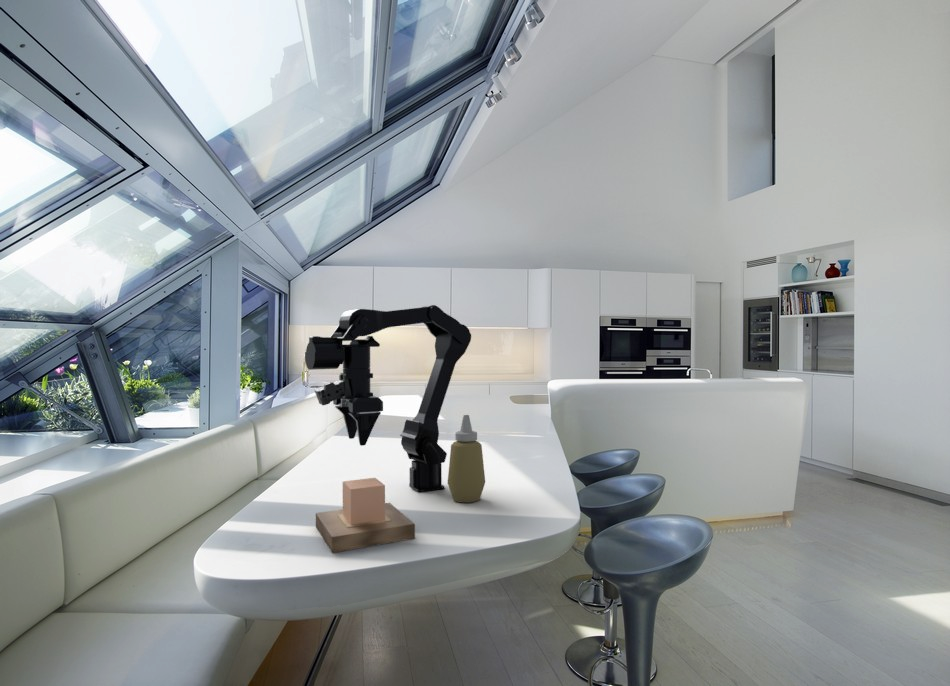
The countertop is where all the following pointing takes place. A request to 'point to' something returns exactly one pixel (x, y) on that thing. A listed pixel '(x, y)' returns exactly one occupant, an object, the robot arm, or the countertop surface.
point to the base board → (363, 529)
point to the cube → (363, 500)
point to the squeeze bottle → (466, 465)
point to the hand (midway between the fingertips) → (356, 441)
